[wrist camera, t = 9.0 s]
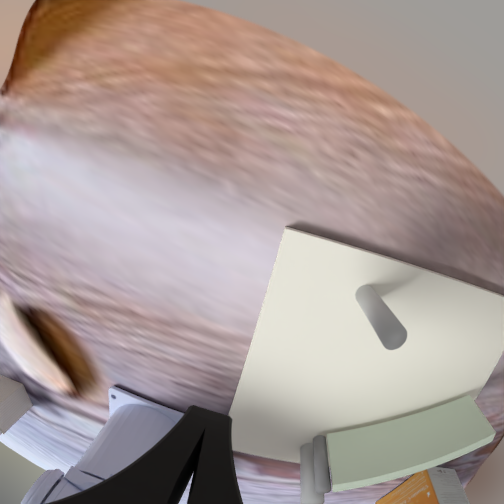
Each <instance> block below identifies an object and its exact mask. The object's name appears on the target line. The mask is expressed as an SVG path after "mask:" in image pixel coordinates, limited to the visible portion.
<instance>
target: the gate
mask: <svg viewBox="0 0 504 504" xmlns="http://www.w3.org/2000/svg"><path fill="white" fill-rule="evenodd" d="M495 434H496V432H495V430H494V429H493V427H492V426H491V424H490V423H489V422H488V420H487V419H486V417H485V416H484V414H483V413H482V412H481V410H480V409H479V407H478V406H477V405H476V403H475V402H474V401H473V399H472V398H471V397H470V395H468V396H465V397H463V398H460V399H458V400H455V401H452V402H450V403H447V404H444V405H441V406H438V407H435V408H432V409H429V410H426V411H423V412H420V413H417V414H413V415H410V416H406V417H403V418H399V419H396V420H392V421H388V422H384V423H380V424H375V425H371V426H367V427H362V428H357V429H352V430H347V431H341V432H336V433H330V434H327V442H328V451H329V460H330V469H331V478H332V489H333V492H338V491H344V490H350V489H355V488H360V487H365V486H369V485H374V484H378V483H382V482H386V481H390V480H394V479H397V478H401V477H404V476H408V475H411V474H414V473H417V472H420V471H423V470H426V469H429V468H432V467H435V466H437V465H440V464H443V463H445V462H448V461H450V460H453V459H455V458H458V457H460V456H462V455H465V454H467V453H469V452H471V451H474V450H476V449H478V448H480V447H482V446H484V445H486V444H488V443H490V442H492V441H493V439H494V436H495ZM313 454H314V472H315V492H316V493H318V494H325V493H328V492H330V491H331V482H330V472H329V462H328V452H327V444H326V437H325V436H323V435H317V436H315V437H314V438H313Z"/></svg>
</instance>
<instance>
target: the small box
mask: <svg viewBox="0 0 504 504" xmlns="http://www.w3.org/2000/svg"><path fill="white" fill-rule="evenodd" d="M375 504H470V503H469V501H468V498H467V496H466V494H465V491H464V489H463V487H462V485H461V482H460V480H459V478H458V476H457V473H456V471H455V469H449V468H442V467H436V466H435V467H432V468H429V469H426V470H423V471H420V472H417V473H415V474H414V475H413V476H412V477H410V478H409V479H408V480H406V481H405V482H404V483H402V484H401V485H400V486H398V487H397V488H396V489H394V490H393V491H392V492H390V493H389V494H387V495H386V496H384V497H383V498H381V499H379V500H378V501H376V502H375Z"/></svg>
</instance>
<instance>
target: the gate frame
mask: <svg viewBox="0 0 504 504" xmlns="http://www.w3.org/2000/svg"><path fill="white" fill-rule="evenodd" d="M503 351H504V295H501V294H498V293H496V292H493V291H490V290H487V289H484V288H481V287H479V286H476V285H473V284H470V283H467V282H464V281H461V280H458V279H455V278H452V277H449V276H446V275H443V274H440V273H437V272H434V271H431V270H428V269H425V268H422V267H419V266H416V265H413V264H410V263H407V262H404V261H400V260H397V259H394V258H391V257H388V256H384V255H381V254H378V253H375V252H372V251H368V250H365V249H362V248H358V247H355V246H352V245H348V244H345V243H342V242H338V241H335V240H332V239H328V238H325V237H321V236H318V235H314V234H311V233H307V232H304V231H300V230H297V229H293V228H290V227H286V226H285V228H284V232H283V236H282V239H281V243H280V246H279V250H278V253H277V257H276V260H275V264H274V267H273V271H272V274H271V278H270V281H269V284H268V288H267V291H266V295H265V298H264V301H263V305H262V308H261V311H260V315H259V318H258V321H257V325H256V328H255V331H254V335H253V338H252V341H251V345H250V348H249V351H248V354H247V358H246V361H245V364H244V367H243V370H242V374H241V377H240V380H239V383H238V386H237V389H236V393H235V396H234V399H233V402H232V405H231V408H230V411H229V414H228V416H230V417H231V418H232V419H233V420H232V434H231V435H232V450H234V451H238V452H243V453H247V454H251V455H256V456H261V457H266V458H271V459H276V460H282V461H288V462H294V463H300V474H301V504H323V503H324V494H318V493H316V492H315V472H314V454H313V438H314V437H315V436H317V435H323V436H325V437H326V444H327V452H328V462H329V467H330V460H329V451H328V442H327V434H330V433H336V432H341V431H347V430H352V429H357V428H362V427H367V426H371V425H375V424H380V423H384V422H388V421H392V420H396V419H399V418H403V417H406V416H410V415H413V414H417V413H420V412H423V411H426V410H429V409H432V408H435V407H438V406H441V405H444V404H447V403H450V402H452V401H455V400H458V399H460V398H463V397H465V396H468V395H470V397H471V398H472V399H473V401H475V400H476V398H477V397H478V395H479V393H480V392H481V390H482V389H483V387H484V385H485V384H486V382H487V380H488V379H489V377H490V375H491V373H492V372H493V370H494V368H495V366H496V364H497V363H498V361H499V359H500V357H501V355H502V353H503Z"/></svg>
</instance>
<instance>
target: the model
mask: <svg viewBox="0 0 504 504" xmlns="http://www.w3.org/2000/svg"><path fill="white" fill-rule="evenodd" d="M32 406H33V404H32V402H31V400H30V398H29V396H28V394H27V392H26V390H25V387H24V385H23V384H22V383H19V382H17V381H14V380H12V379H9V378H7V377H5V376H2V375H0V435H1V434H2V433H3V434H4V433H5V432H6V431H7V430H8V429H9V428H10V427H11V426H12V425H14V424H15V423H16V422H17V421H18V420H19V419H20V418H21V417H22V416H23V415H24V414H25V413H26V412H27V411H28V410H29V409H30V408H31V407H32Z"/></svg>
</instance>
